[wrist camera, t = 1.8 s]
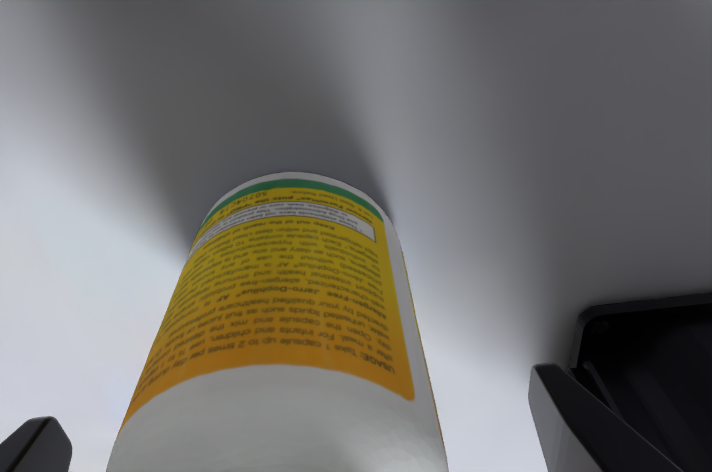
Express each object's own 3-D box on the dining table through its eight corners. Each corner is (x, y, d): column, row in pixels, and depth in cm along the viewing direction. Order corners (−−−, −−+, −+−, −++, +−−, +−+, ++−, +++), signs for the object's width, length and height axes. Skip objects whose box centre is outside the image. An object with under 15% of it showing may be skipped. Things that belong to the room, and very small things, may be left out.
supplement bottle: (431, 283, 15) (562, 750, 7) (270, 355, 16) (215, 825, 8) (337, 123, 12) (365, 576, 4) (151, 223, 13) (-118, 732, 5)
